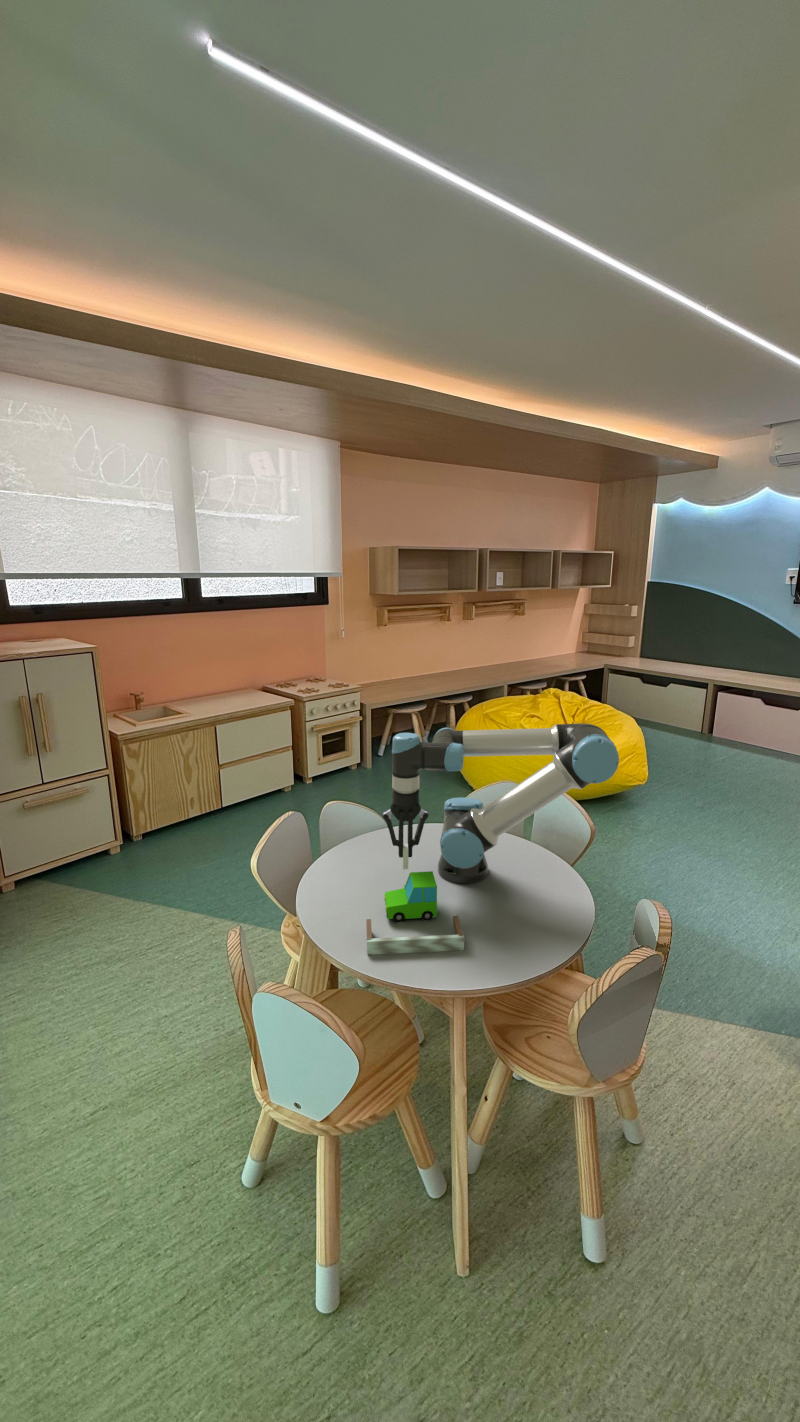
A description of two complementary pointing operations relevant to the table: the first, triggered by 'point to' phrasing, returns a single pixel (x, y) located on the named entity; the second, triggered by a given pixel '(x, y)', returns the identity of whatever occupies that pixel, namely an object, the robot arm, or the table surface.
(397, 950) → the bay
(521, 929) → the table surface
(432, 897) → the toy car
